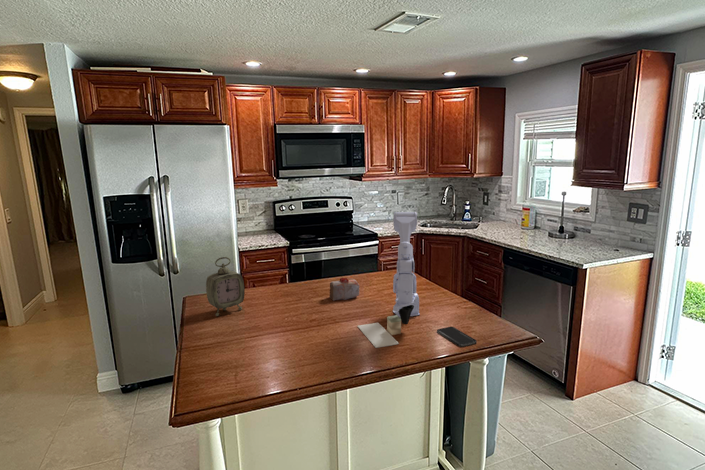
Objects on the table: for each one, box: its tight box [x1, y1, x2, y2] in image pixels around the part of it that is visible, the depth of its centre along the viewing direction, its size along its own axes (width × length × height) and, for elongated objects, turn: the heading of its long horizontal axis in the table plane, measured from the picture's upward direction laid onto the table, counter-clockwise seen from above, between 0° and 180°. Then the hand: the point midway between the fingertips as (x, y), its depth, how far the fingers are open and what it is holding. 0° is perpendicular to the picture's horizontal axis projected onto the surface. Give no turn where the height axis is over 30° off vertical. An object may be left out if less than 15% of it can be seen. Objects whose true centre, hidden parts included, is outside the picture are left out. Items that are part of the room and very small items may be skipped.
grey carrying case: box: [329, 277, 360, 302], centre depth 198 cm, size 14×8×10 cm, turn 111°
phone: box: [436, 326, 478, 348], centre depth 153 cm, size 8×1×15 cm
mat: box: [357, 322, 400, 349], centre depth 156 cm, size 9×20×1 cm, turn 18°
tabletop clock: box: [205, 256, 246, 317], centre depth 180 cm, size 14×9×25 cm, turn 131°
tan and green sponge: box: [386, 314, 402, 336], centre depth 158 cm, size 4×4×6 cm
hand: (405, 323), depth 159 cm, fingers closed
